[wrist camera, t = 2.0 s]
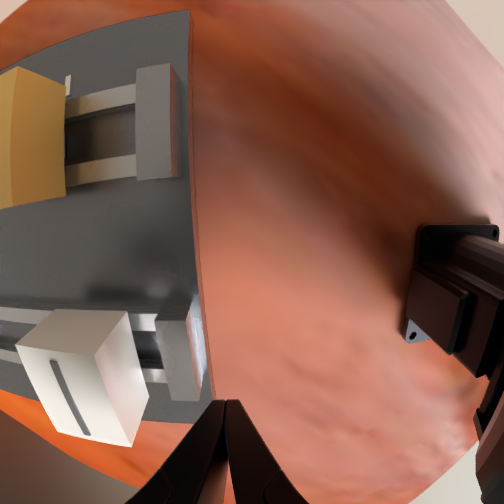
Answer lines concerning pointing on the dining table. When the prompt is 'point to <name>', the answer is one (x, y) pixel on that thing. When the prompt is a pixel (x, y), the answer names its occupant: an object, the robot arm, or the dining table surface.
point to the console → (118, 212)
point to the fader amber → (31, 138)
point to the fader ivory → (87, 374)
